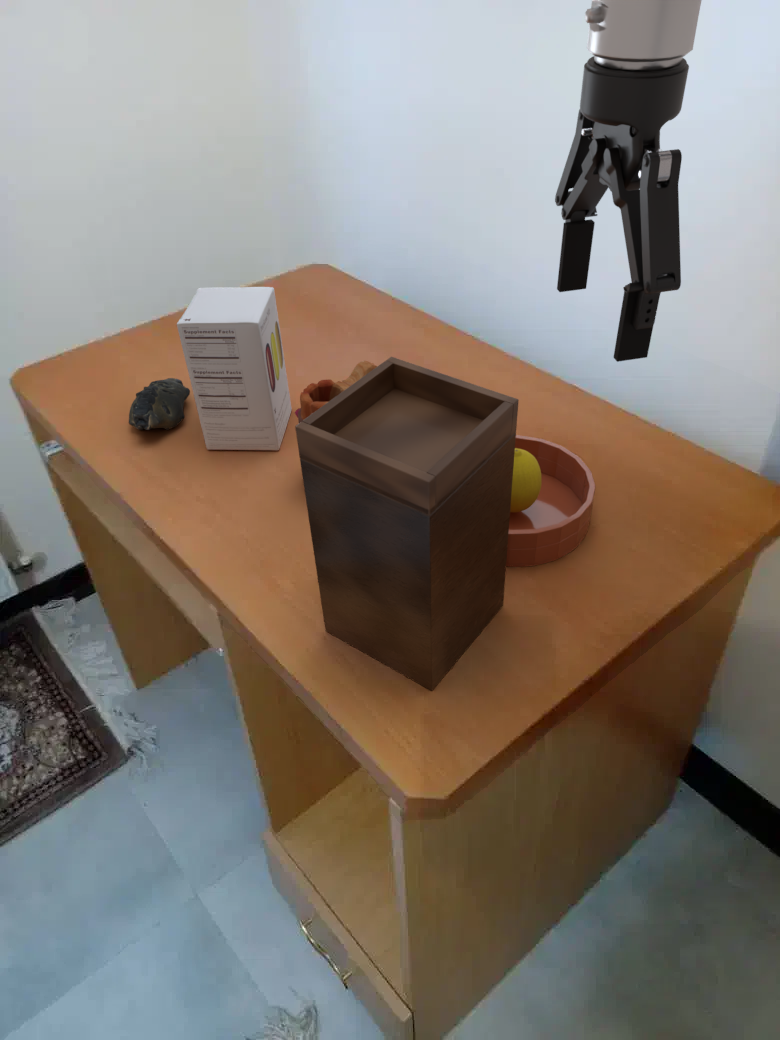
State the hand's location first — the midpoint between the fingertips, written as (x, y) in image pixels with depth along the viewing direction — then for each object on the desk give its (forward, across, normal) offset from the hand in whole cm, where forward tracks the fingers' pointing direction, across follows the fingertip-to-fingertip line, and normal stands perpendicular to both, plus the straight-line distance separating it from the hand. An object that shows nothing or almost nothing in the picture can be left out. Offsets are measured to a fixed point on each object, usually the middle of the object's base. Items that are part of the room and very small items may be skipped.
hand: (598, 321), depth 72 cm
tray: (+1, +13, -21) cm, 24 cm away
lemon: (+21, +1, -7) cm, 22 cm away
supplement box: (+21, -22, -34) cm, 46 cm away
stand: (+21, +13, -21) cm, 32 cm away
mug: (+21, -10, -23) cm, 33 cm away
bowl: (+21, +1, -7) cm, 22 cm away
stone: (+21, -29, -45) cm, 57 cm away
